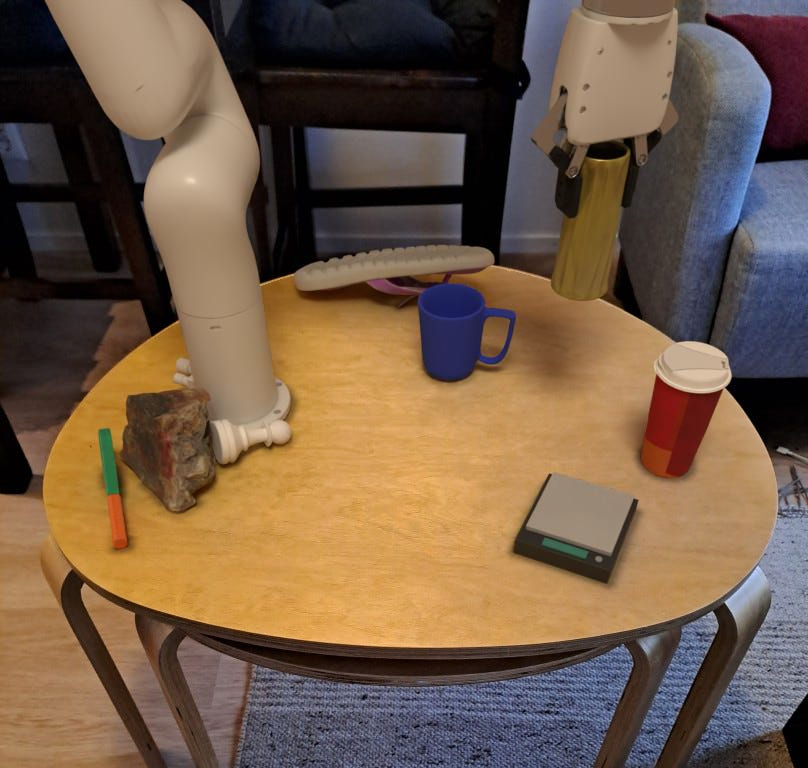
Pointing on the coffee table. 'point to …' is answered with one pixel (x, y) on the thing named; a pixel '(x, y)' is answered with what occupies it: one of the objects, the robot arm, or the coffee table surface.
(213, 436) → the chess pawn
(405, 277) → the sandal
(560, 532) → the scale
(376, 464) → the coffee table surface
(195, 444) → the rock
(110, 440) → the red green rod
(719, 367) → the paper cup
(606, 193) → the vase
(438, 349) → the mug
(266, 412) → the robot arm
